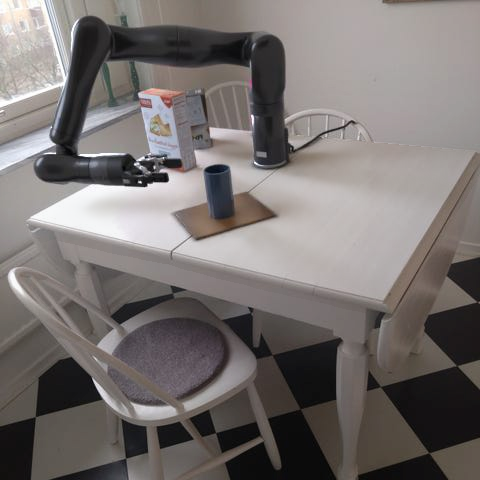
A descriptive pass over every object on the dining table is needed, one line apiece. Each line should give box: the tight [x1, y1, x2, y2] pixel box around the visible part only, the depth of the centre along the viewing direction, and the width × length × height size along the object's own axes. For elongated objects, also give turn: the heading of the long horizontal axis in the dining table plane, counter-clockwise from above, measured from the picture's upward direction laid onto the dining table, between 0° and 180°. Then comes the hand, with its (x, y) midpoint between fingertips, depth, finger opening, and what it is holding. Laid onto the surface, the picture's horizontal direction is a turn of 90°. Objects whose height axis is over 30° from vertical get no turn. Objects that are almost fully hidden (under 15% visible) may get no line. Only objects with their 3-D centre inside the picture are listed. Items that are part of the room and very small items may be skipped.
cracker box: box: [137, 87, 198, 173], centre depth 143 cm, size 14×6×21 cm, turn 49°
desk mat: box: [173, 191, 276, 241], centre depth 119 cm, size 20×16×1 cm
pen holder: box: [202, 163, 235, 219], centre depth 116 cm, size 6×6×11 cm
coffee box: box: [184, 87, 212, 150], centre depth 158 cm, size 9×6×16 cm
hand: (174, 170), depth 115 cm, fingers open, 8 cm apart
